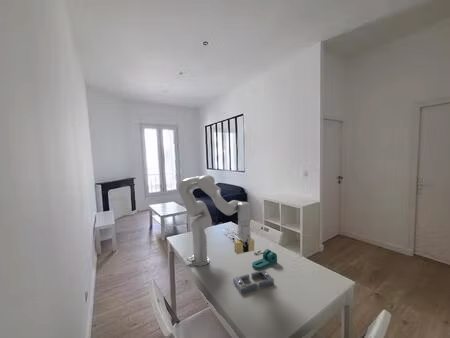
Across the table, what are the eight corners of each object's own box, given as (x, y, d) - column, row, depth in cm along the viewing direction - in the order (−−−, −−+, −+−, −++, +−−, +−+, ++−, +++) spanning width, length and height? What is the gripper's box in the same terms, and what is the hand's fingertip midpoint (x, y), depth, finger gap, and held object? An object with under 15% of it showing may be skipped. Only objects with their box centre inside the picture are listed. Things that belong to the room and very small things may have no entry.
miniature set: (220, 232, 195) (231, 231, 201) (239, 249, 165) (252, 248, 170) (221, 225, 195) (232, 225, 201) (241, 241, 164) (253, 240, 170)
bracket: (270, 258, 147) (270, 248, 147) (277, 262, 141) (277, 251, 141) (250, 266, 138) (250, 255, 137) (256, 271, 132) (256, 259, 132)
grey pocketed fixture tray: (241, 294, 111) (240, 287, 111) (233, 282, 121) (233, 276, 121) (273, 284, 119) (273, 278, 118) (264, 274, 128) (264, 268, 128)
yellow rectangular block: (237, 254, 126) (237, 243, 125) (234, 251, 129) (234, 240, 129) (254, 250, 130) (254, 240, 129) (251, 247, 134) (251, 237, 133)
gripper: (233, 218, 134) (233, 245, 136) (244, 227, 119) (245, 257, 121) (243, 217, 137) (243, 243, 139) (256, 225, 122) (256, 255, 123)
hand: (244, 249), depth 130 cm, fingers closed on yellow rectangular block, 4 cm apart
